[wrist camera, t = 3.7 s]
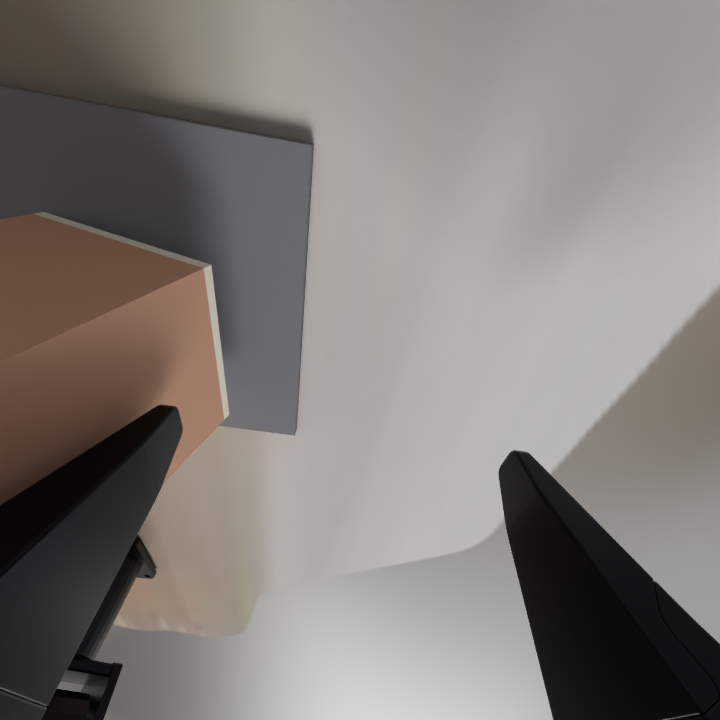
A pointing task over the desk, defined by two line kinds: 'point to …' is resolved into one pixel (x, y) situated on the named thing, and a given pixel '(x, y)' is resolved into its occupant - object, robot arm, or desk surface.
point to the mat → (182, 220)
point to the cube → (98, 344)
